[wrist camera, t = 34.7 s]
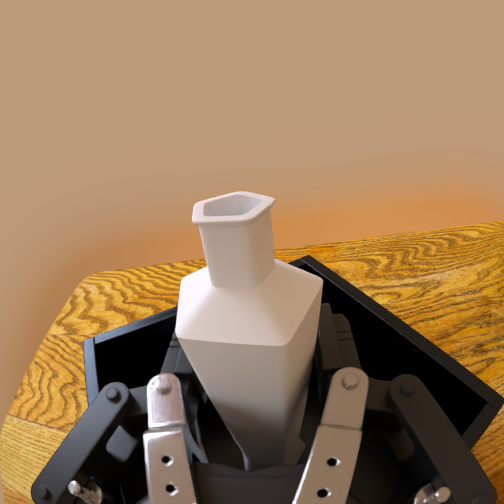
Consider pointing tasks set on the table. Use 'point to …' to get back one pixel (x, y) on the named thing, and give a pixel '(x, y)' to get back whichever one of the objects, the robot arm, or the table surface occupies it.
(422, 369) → the open box
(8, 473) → the table surface
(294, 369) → the perfume bottle
